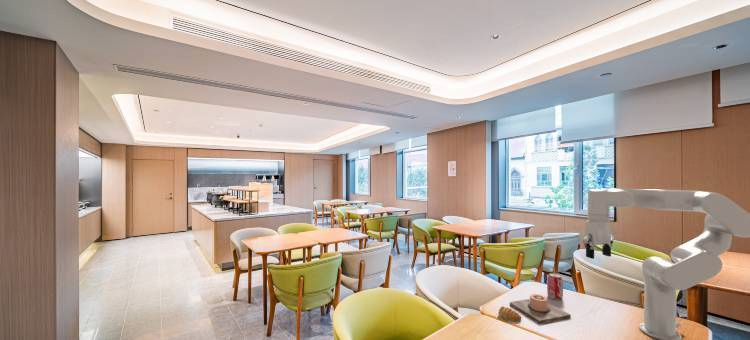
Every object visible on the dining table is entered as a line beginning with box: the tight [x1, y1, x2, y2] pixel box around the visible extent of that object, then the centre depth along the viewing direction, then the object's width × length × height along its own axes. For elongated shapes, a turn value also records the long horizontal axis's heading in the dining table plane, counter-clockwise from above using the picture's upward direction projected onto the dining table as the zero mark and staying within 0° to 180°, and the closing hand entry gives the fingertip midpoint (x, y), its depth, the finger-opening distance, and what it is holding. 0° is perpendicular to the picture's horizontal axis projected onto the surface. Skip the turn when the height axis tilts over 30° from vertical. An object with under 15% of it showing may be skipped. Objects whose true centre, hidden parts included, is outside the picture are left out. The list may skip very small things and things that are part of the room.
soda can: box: [546, 272, 564, 300], centre depth 153 cm, size 7×7×12 cm
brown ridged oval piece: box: [498, 305, 522, 323], centre depth 133 cm, size 9×7×4 cm
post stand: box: [509, 297, 572, 325], centre depth 139 cm, size 18×18×6 cm
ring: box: [529, 293, 549, 312], centre depth 138 cm, size 7×7×5 cm
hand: (598, 256), depth 126 cm, fingers open, 9 cm apart
